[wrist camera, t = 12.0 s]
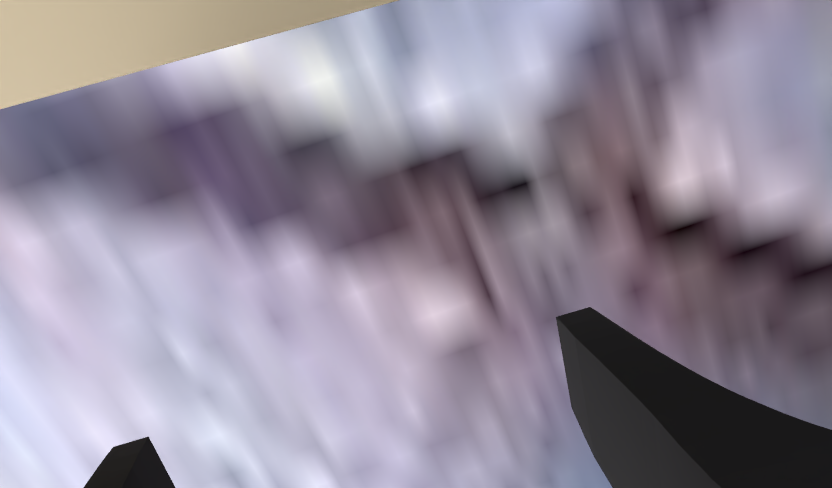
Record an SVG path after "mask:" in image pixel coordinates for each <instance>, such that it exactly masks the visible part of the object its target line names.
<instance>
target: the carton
mask: <svg viewBox="0 0 832 488" xmlns="http://www.w3.org/2000/svg"><path fill="white" fill-rule="evenodd" d="M394 1H398V0H0V109H3V108H6V107H10V106H14V105H17V104H21V103H25V102H28V101H32V100H36V99H39V98H43V97H47V96H50V95H54V94H58V93H61V92H65V91H69V90H72V89H76V88H80V87H83V86H87V85H90V84H94V83H98V82H101V81H105V80H109V79H112V78H116V77H120V76H123V75H127V74H131V73H134V72H138V71H142V70H145V69H149V68H153V67H156V66H160V65H164V64H167V63H171V62H175V61H178V60H182V59H186V58H189V57H193V56H197V55H200V54H204V53H207V52H211V51H215V50H218V49H222V48H226V47H229V46H233V45H237V44H240V43H244V42H248V41H251V40H255V39H259V38H262V37H266V36H270V35H273V34H277V33H281V32H284V31H288V30H292V29H295V28H299V27H303V26H306V25H310V24H314V23H317V22H321V21H324V20H328V19H332V18H335V17H339V16H343V15H346V14H350V13H354V12H357V11H361V10H365V9H368V8H372V7H376V6H379V5H383V4H387V3H390V2H394Z"/></svg>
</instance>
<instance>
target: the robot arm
mask: <svg viewBox="0 0 832 488" xmlns="http://www.w3.org/2000/svg"><path fill="white" fill-rule="evenodd" d="M556 320H557V325H558V331H559V337H560V343H561V349H562V354H563V360H564V366H565V372H566V378H567V383H568V389H569V395H570V401H571V406H572V409H573V411H574V414H575V416H576V418H577V420H578V423H579V425H580V427H581V429H582V432H583V434H584V436H585V438H586V440H587V443H588V445H589V447H590V449H591V451H592V453H593V455H594V457H595V459H596V461H597V462H598V464H599V466H600V467H601V469H602V471H603V472H604V474H605V476H606V477H607V479H608V481H609V482H610V484H611V486H612V487H613V488H832V430H830V429H827V428H824V427H821V426H818V425H814V424H811V423H808V422H805V421H803V420H800V419H797V418H795V417H792V416H789V415H787V414H784V413H781V412H779V411H777V410H774V409H772V408H769V407H767V406H765V405H762V404H760V403H757V402H755V401H753V400H750V399H748V398H745V397H743V396H741V395H739V394H737V393H735V392H732V391H730V390H728V389H726V388H724V387H722V386H720V385H718V384H716V383H714V382H712V381H710V380H708V379H706V378H704V377H702V376H701V375H699V374H697V373H695V372H693V371H692V370H690V369H688V368H686V367H684V366H683V365H681V364H679V363H678V362H676V361H674V360H672V359H671V358H669V357H667V356H666V355H664V354H662V353H661V352H659V351H657V350H656V349H654V348H652V347H651V346H649V345H648V344H646V343H644V342H643V341H641V340H640V339H638V338H637V337H635V336H633V335H632V334H630V333H629V332H627V331H626V330H624V329H623V328H621V327H620V326H618V325H617V324H615V323H614V322H612V321H611V320H609V319H608V318H606V317H605V316H603V315H602V314H600V313H599V312H597V311H596V310H594V309H592V308H590V307H589V308H585V309H582V310H578V311H575V312H572V313H568V314H565V315H561V316H558V317H556ZM84 488H175V486H174V484H173V482H172V480H171V479H170V477H169V475H168V473H167V471H166V469H165V467H164V465H163V463H162V462H161V460H160V458H159V456H158V454H157V452H156V450H155V448H154V446H153V444H152V443H151V441H150V439H149V437H146V438H142V439H139V440H136V441H132V442H129V443H125V444H122V445H119V446H115V447H113V448H112V449H111V451H110V452H109V453H108V454H107V456H106V457H105V458H104V460H103V461H102V463H101V464H100V465H99V467H98V468H97V469H96V471H95V472H94V474H93V475H92V477H91V478H90V479H89V481H88V482H87V484H86V485H85V487H84Z"/></svg>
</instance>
